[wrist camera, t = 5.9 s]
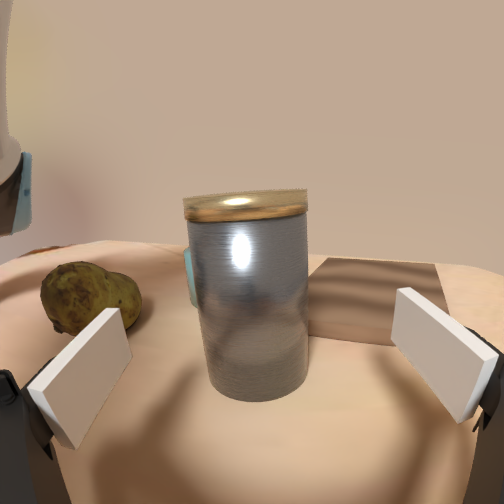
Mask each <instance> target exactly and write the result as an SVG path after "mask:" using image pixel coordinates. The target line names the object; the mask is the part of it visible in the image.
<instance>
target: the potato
mask: <svg viewBox="0 0 504 504" xmlns="http://www.w3.org/2000/svg"><path fill="white" fill-rule="evenodd" d="M40 297H41V301H42V304H43V307H44V309H45V311H46V314H47V316H48V318H49V319H50V320H51V322H52V323H53V325H54V326H53V327H54V330H55V331H56V332H58V333H61V334H62V333H63V332H66V333H68V334H70V335H73V336H75V337H76V336H77V335H78V334H79V333H80V332H81V331H82V330H84V329H85V328H86V327H87V326H88V325H89V324H90V323H91V322H92V321H93V320H94V319H95V318H96V317H97V316H98V315H99V314H100V313H101V312H102V311H103V310H105V309H106V308H119V309H120V313H121V317H122V321H123V325H124V329H127V328H128V327H130V326H131V325H132V324H133V323H134V322H135V320H136V319H137V317H138V315H139V313H140V310H141V305H142V299H141V294H140V291H139V289H138V286H137V284H136V283H135V282H134V280H132V279H131V278H130V277H128V276H126V275H123V274H120V273H116V272H108V271H106V270H105V269H103V268H101V267H99V266H97V265H95V264H92V263H88V262H83V261H81V262H70V263H66V264H63V265H59V266H58V267H57V268H55V269H54V270H53V271H52V272H51V273H50V274H48V275H47V276H46V278H45V279H44V280H43V281H42V286H41V294H40Z"/></svg>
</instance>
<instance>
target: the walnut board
mask: <svg viewBox="0 0 504 504" xmlns="http://www.w3.org/2000/svg"><path fill="white" fill-rule="evenodd" d="M407 287H411V288H412V289H413V290H415V291H416V292H418V293H419V294H420V295H422V296H423V297H425V298H426V299H427V300H429V301H430V302H431V303H433V304H434V305H436V306H437V307H438V308H440V309H441V310H442V311H444V312H445V313H446V314H448V315H449V311H448V307H447V304H446V300H445V297H444V293H443V290H442V286H441V283H440V280H439V277H438V274H437V271H436V268H435V265H434V264H427V263H410V262H393V261H376V260H360V259H343V258H327V259H326V260H325V261H324V262H323V263H322V264H321V265H320V266H319V267H318V268H317V269H316V270H315V271H314V272H313V273H312V274H311V275H310V276H309V277H308V335H311V336H317V337H324V338H331V339H338V340H346V341H354V342H362V343H370V344H379V345H389V346H396V345H395V344H394V343H393V342H392V340H391V333H392V326H393V319H394V311H395V302H396V293H397V289H400V288H407ZM449 316H450V315H449Z"/></svg>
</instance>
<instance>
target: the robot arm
mask: <svg viewBox="0 0 504 504" xmlns="http://www.w3.org/2000/svg"><path fill="white" fill-rule="evenodd" d="M12 4H13V0H0V237H3V236H8V235H12V234H13V233H16V232H19V231H22V230H25V229H27V228H28V227H29V226H30V224H31V219H32V214H31V167H32V166H31V165H32V155H31V154H30V153H26V152H22V153H21V148H20V144H19V142H18V141H17V140H16V139H15V138H14V137H12V136H10V135H9V132H8V122H7V108H6V54H7V41H8V31H9V23H10V16H11V9H12ZM391 340H392V342H393V343H394V344H395V345H396V346H397V348H398V349H399V350H400V351H401V352H402V354H403V355H404V356H405V357H406V358H407V360H408V361H409V362H410V363H411V365H412V366H413V367H414V368H415V369H416V371H417V372H418V373H419V374H420V376H421V377H422V378H423V379H424V381H425V382H426V383H427V385H428V386H429V387H430V388H431V390H432V391H433V392H434V393H435V395H436V396H437V397H438V399H439V400H440V401H441V402H442V404H443V405H444V406H445V408H446V409H447V410H448V412H449V413H450V414H451V416H452V417H453V418H454V420H455V421H456V422H457V424H459V423H461V422H463V421H466V420H468V419H470V418H472V417H473V415H474V413H475V411H476V409H477V407H478V405H480V406H481V408H482V409H483V411H482V413H481V415H480V417H479V419H478V421H477V423H476V425H475V426H474V428H473V431H472V432H475V430H476V429H477V427H478V426H479V429H478V436H477V443H476V449H475V455H474V460H473V465H472V470H471V474H470V478H469V482H468V486H467V490H466V494H465V497H464V500H463V504H504V354H503V353H502V352H500V351H499V350H498V349H497V348H495V347H494V346H493V345H492V344H490V343H489V342H486V340H485V339H484V338H483V337H480V335H479V334H478V333H476V332H475V331H474V330H472V329H470V328H467V327H465V326H462V325H461V324H460V323H458V322H457V321H456V320H454V319H453V318H452V317H450V316H449V315H448V314H446V313H445V312H444V311H442V310H441V309H440V308H438V307H437V306H436V305H434V304H433V303H431V302H430V301H429V300H427V299H426V298H425V297H423V296H422V295H420V294H419V293H418V292H416V291H415V290H413V289H412V288H411V287H407V288H400V289H397V293H396V302H395V311H394V319H393V326H392V333H391ZM131 358H132V354H131V351H130V347H129V344H128V340H127V336H126V333H125V329H124V325H123V321H122V317H121V313H120V309H119V308H106V309H105V310H103V311H102V312H101V313H100V314H99V315H98V316H97V317H96V318H95V319H94V320H93V321H92V322H91V323H90V324H89V325H88V326H87V327H86V328H85V329H84V330H82V331H81V332H80V333H79V334H78V335H77V336H76V337H75V338H74V339H73V340H72V341H71V342H70V343H69V344H68V345H67V346H66V347H65V348H64V349H63V350H62V351H61V352H60V353H59V354H58V355H57V356H56V357H54V358H52V359H50V360H49V361H48V362H47V363H46V364H45V365H44V366H43V368H41V369H40V370H39V371H38V374H35V375H34V376H33V378H32V379H31V380H30V381H29V382H28V383H27V384H26V385H25V386H24V387H23V388H22V389H21V390H20V389H19V387H18V385H17V383H16V381H15V379H14V377H13V375H12V373H11V372H10V371H9V370H4V369H3V370H0V504H72V503H71V500H70V498H69V495H68V492H67V489H66V486H65V483H64V480H63V477H62V474H61V471H60V467H59V464H58V460H57V456H56V452H55V448H54V446H53V444H52V442H51V441H50V440H51V438H52V437H53V435H54V436H55V437H56V439H57V440H58V442H59V443H60V445H61V446H64V447H68V448H71V449H74V450H77V449H78V448H79V446H80V444H81V442H82V440H83V439H84V437H85V435H86V433H87V432H88V430H89V428H90V426H91V425H92V423H93V421H94V419H95V418H96V416H97V414H98V413H99V411H100V409H101V407H102V406H103V404H104V402H105V401H106V399H107V397H108V396H109V394H110V392H111V391H112V389H113V387H114V386H115V384H116V383H117V381H118V379H119V378H120V376H121V374H122V373H123V371H124V370H125V368H126V366H127V365H128V363H129V362H130V360H131Z"/></svg>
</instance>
